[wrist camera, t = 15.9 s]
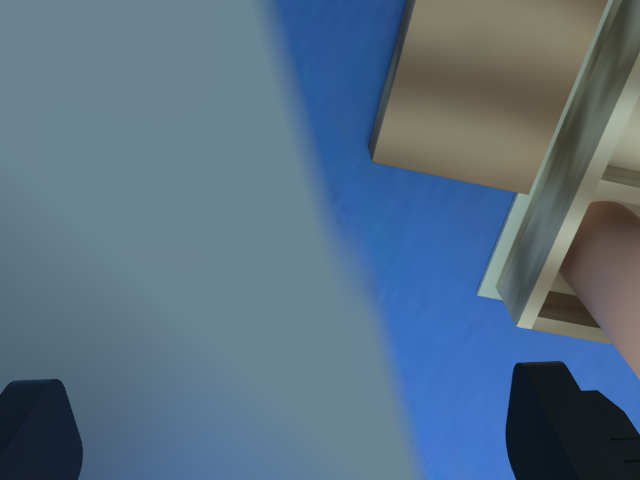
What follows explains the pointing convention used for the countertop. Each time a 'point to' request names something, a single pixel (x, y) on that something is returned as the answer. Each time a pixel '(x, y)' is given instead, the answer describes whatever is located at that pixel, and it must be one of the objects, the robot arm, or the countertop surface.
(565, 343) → the countertop surface
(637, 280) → the pink cylinder
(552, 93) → the board
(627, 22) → the caddy
